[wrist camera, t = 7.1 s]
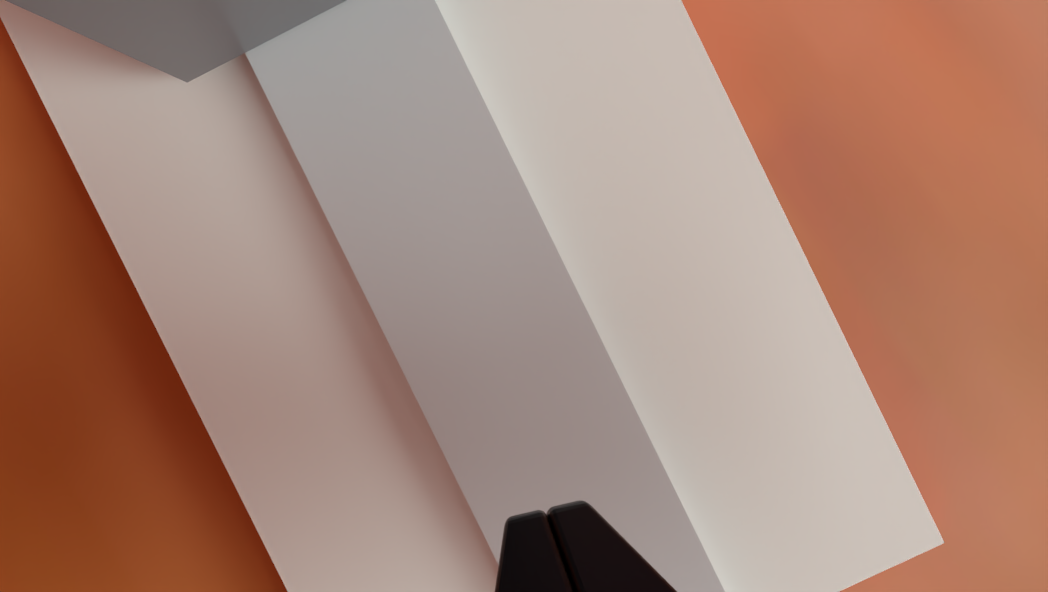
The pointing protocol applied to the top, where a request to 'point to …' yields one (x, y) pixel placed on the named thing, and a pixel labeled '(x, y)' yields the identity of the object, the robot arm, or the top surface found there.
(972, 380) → the top surface
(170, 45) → the plate
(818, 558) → the rail plate
